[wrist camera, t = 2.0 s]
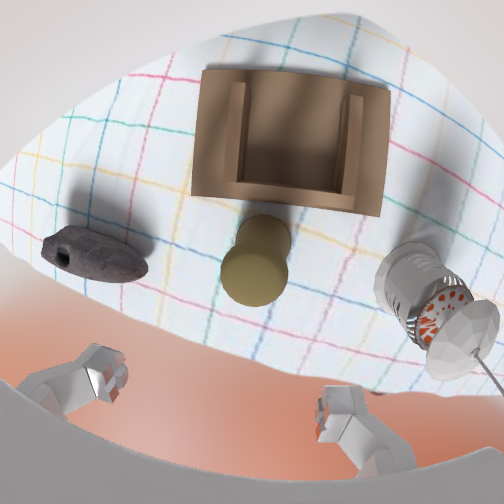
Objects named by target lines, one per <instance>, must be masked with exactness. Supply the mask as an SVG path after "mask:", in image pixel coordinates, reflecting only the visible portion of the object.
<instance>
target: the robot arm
mask: <svg viewBox="0 0 504 504" xmlns="http://www.w3.org/2000/svg"><path fill="white" fill-rule="evenodd" d="M124 361H125V356H124V353H122V352H120V351H117V350H114V349H111V348H108V347H105V346H102V345H99V344H96V343H92V344H91V345H90V346H89V347H88V348H87V349H86V350H85V351H84V352H83V353H82V354H81V355H80V356H79V357H78V358H77V359H76V360H75V361H74V362H71V361H70V362H67V363H64V364H61V365H58V366H55V367H51V368H48V369H45V370H42V371H38V372H35V373H31V374H29V375H28V376H27V377H26V378H25V379H24V380H23V381H22V382H21V383H20V384H19V385H18V386H17V387H16V388H13V387H12V386H11V385H10V384H8V383H7V382H5V381H4V380H3V379H1V378H0V504H504V454H503V453H502V452H500V451H498V450H497V449H494V448H492V447H485V448H482V449H479V450H476V451H474V452H471V453H468V454H466V455H463V456H460V457H457V458H454V459H451V460H447V461H444V462H441V463H437V464H434V465H430V466H426V467H422V468H418V466H417V463H416V460H415V456H414V453H413V450H412V447H411V445H410V444H409V443H408V442H406V441H405V440H404V439H403V438H401V437H400V436H399V435H398V434H396V433H395V432H394V431H393V430H391V429H390V428H389V427H388V426H386V425H385V424H384V423H383V422H382V421H380V420H379V419H378V418H377V417H376V416H374V415H373V414H369V411H368V407H367V404H366V400H365V397H364V393H363V390H362V387H361V386H360V385H359V386H332V385H324V386H323V387H322V390H321V398H320V399H318V402H317V404H316V409H315V421H316V422H317V423H318V426H317V428H316V436H317V442H338V444H339V446H340V447H341V448H342V450H343V451H344V452H345V453H346V455H347V456H348V457H349V458H350V459H351V461H352V462H353V463H354V464H355V466H357V468H358V469H359V470H360V471H359V472H358V474H357V475H356V476H355V477H354V478H353V479H344V480H326V481H324V480H323V481H294V480H293V481H292V480H274V479H261V478H251V477H243V476H235V475H229V474H223V473H217V472H212V471H207V470H202V469H197V468H193V467H188V466H184V465H180V464H176V463H172V462H169V461H166V460H162V459H158V458H155V457H152V456H149V455H146V454H143V453H140V452H137V451H134V450H132V449H129V448H126V447H124V446H121V445H118V444H116V443H113V442H111V441H109V440H106V439H104V438H101V437H99V436H97V435H95V434H93V433H90V432H88V431H86V430H84V429H82V428H80V427H78V426H76V425H74V424H72V423H70V422H69V421H68V419H67V418H66V416H65V415H66V414H68V413H70V412H72V411H74V410H76V409H78V408H80V407H82V406H84V405H86V404H87V403H89V402H91V401H93V400H95V399H96V398H98V399H101V400H103V401H106V402H109V403H113V402H114V401H115V399H116V398H117V396H118V395H119V390H118V389H120V388H123V387H124V386H125V384H126V383H127V379H128V369H127V367H126V365H125V364H124V363H123V362H124Z"/></svg>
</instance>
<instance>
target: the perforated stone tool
mask: <svg viewBox="0 0 504 504" xmlns="http://www.w3.org/2000/svg"><path fill="white" fill-rule="evenodd" d="M41 255H42V257H43V258H44V259H46V260H47V261H48V262H50V263H51V264H53V265H55V266H56V267H58V268H60V269H62V270H64V271H66V272H69V273H71V274H74V275H77V276H80V277H83V278H86V279H91V280H96V281H101V282H108V283H126V282H132V281H135V280H138V279H141V278H142V277H144V276H145V275H146V273H147V272H148V265H147V263H146V261H145V260H144V259H143V258H142V257H141V255H140V254H139V253H137V252H136V251H135V250H134V249H132V248H131V247H129V246H127V245H126V244H124V243H122V242H119V241H117V240H115V239H113V238H110V237H108V236H105V235H102V234H100V233H97V232H93V231H91V230H89V229H86V228H82V227H78V226H72V225H69V226H66V227H64V228H63V229H61V230H60V231H59V232H57V233H56V234H54V235H52V236H49V237H46V238H45V239H44V241H43V248H42V251H41Z"/></svg>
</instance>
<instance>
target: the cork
mask: <svg viewBox="0 0 504 504" xmlns="http://www.w3.org/2000/svg"><path fill="white" fill-rule="evenodd" d="M290 249H291V237H290V232H289V231H288V229H287V227H286V226H285V224H283V223H282V222H281V221H280V220H279V219H277V218H275V217H272V216H269V215H258V216H254V217H251V218H250V219H248V220H246V221H245V222H244V223H243V224H242V225H241V227H240V228H239V230H238V233H237V235H236V241H235V246H233V247H232V248H231V249H230V251H229V252H228V253H227V254H226V255H225V257H224V259H223V262H222V264H221V275H220V277H221V282H222V285H223V288H224V290H225V291H226V292H227V294H228V295H229V296H230V297H231V298H232V299H233V300H235V301H236V302H238V303H240V304H243V305H245V306H251V307H259V306H264V305H267V304H269V303H271V302H273V301H275V300H276V299H277V298H278V297H279V296H280V295H281V294H282V292H283V290H284V288H285V286H286V284H287V280H288V267H287V263H286V259H287V256H288V254H289V252H290Z"/></svg>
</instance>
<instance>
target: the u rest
mask: <svg viewBox="0 0 504 504" xmlns="http://www.w3.org/2000/svg"><path fill="white" fill-rule="evenodd" d="M390 101H391V91H390V90H386V89H382V88H378V87H374V86H370V85H366V84H361V83H356V82H352V81H347V80H341V79H336V78H330V77H323V76H317V75H309V74H301V73H292V72H281V71H267V70H239V69H222V70H202V78H201V85H200V94H199V102H198V111H197V121H196V132H195V143H194V156H193V170H192V186H191V196H203V197H216V198H228V199H239V200H250V201H260V202H269V203H279V204H287V205H296V206H304V207H312V208H320V209H327V210H334V211H342V212H348V213H355V214H362V215H368V216H374V217H380V212H381V206H382V199H383V191H384V184H385V175H386V166H387V155H388V143H389V128H390Z"/></svg>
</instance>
